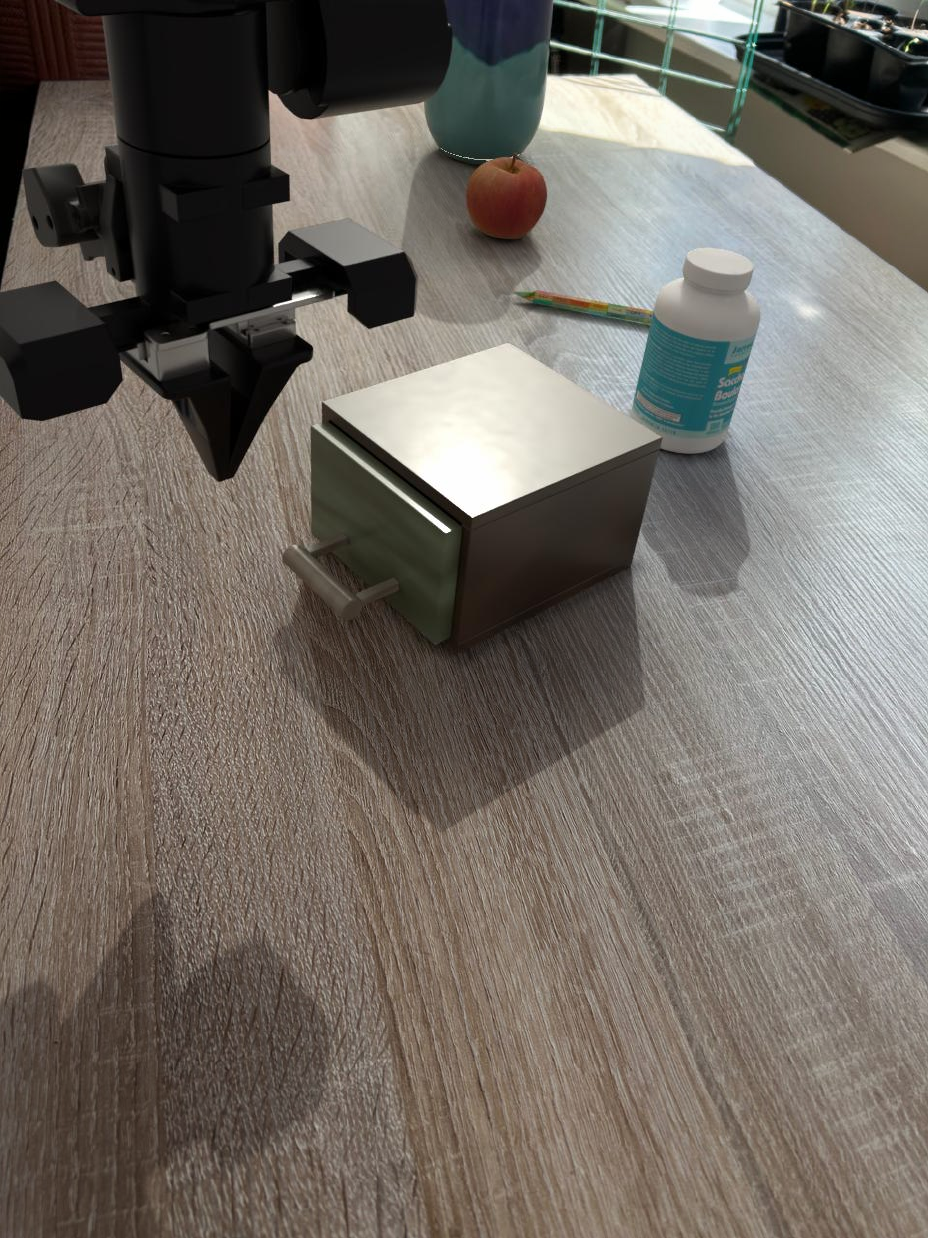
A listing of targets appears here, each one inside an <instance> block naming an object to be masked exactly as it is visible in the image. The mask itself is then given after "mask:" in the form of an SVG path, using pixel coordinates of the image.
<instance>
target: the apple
mask: <svg viewBox="0 0 928 1238" xmlns="http://www.w3.org/2000/svg"><path fill="white" fill-rule="evenodd" d="M517 155H518V154H517V153H516V152H515V153H514V156H513V158H510V157H501V158H496V159H493V160H490V161H488V162H486V163H484V164H482V165H478V167H477V168H476V169H475V170H474V171H473V173H472V174H471V175H470V177H469V180H468V182H467V186H466V191H465V202H466V209H467V212H468V215H469V218H470V220H471V221H472V223H473V225H474V226H475V227H476V228H477V230H479V231H480V232H481V233H483V234H484V235H487V236H490V237H493V238H497V239H504V240H517V239H520V238H523V237H524V236H525V235H527V234H529V232H531V231H532V230H533V229H534V228H535V226H536V225H537V224H538V223H539V221H540V219H541V218H542V216H543V214H544V212H545V209H546V207H547V206H546V205H547V200H548V188H547V183H546V181H545V177H544V176H543V174H542V173H541V172H540V171H539V170H538V169H537V168H536V167H534V166H533V165H531V164H529V163H527V162H525V161H522V160H520V159H517V158H518V157H517ZM516 157H517V158H516Z"/></svg>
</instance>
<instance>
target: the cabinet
mask: <svg viewBox="0 0 928 1238" xmlns="http://www.w3.org/2000/svg"><path fill="white" fill-rule="evenodd" d="M324 421H328V422H330V423H331V424H332V425H333V426H335V427H336V428H337V429H339V430H340V431H341V432H342V433H344V434H345V435H346V436H347V437H349V438H350V439H351V440H353V438H354V439H355V440H356V441H358V442H359V443H360V444H361V445H363V446H364V447H365V448H366V449H368V450H369V451H370V452H372V453H373V454H374V455H375V456H377V457H378V458H379V459H381V460H382V461H383V462H384V463H386V464H387V465H388V466H389V467H391V468H392V469H393V470H395V471H396V472H397V473H398V474H400V475H401V476H402V477H404V478H405V479H406V480H407V481H409V482H410V483H411V484H412V485H414V486H415V487H416V488H418V489H419V490H420V491H421V492H423V493H424V494H425V495H427V496H428V497H429V498H430V499H432V500H433V501H434V502H435V503H437V504H438V505H439V506H441V507H442V508H443V509H444V510H446V511H447V512H448V513H450V514H451V515H452V516H453V517H455V518H456V519H457V520H458V521H460V522H461V523H462V525H461V526H462V536H461V545H460V555H459V564H458V574H457V583H456V592H455V602H454V611H453V621H452V630H451V637H450V638H448V639H446V640H444V641H442V642H441V643H443V644H444V645H446V646H447V648H449V650H451V651H452V652H453V653H454V654H456V655H459V654H460V653H462V652H465V651H467V650H468V649H470V648H473V647H475V646H476V645H478V644H480V643H482V642H484V641H487V640H488V639H490V638H493V637H494V636H496V635H499V634H500V633H502V632H505V631H506V630H509V629H510V628H512V627H514V626H516V625H518V624H520V623H522V622H524V621H525V620H528V619H529V618H532V617H534V616H536V615H537V614H540V613H542V612H544V611H545V610H547V609H550V608H552V607H554V606H556V605H558V604H560V603H561V602H563V601H565V600H567V599H569V598H571V597H574V596H575V595H577V594H580V593H581V592H583V591H586V590H587V589H589V588H590V587H593V586H595V585H596V584H599V583H601V582H602V581H605V580H607V579H609V578H611V577H613V576H614V575H617V574H619V573H620V572H623V571H625V570H627V569H628V568H630V567H632V565H633V561H634V556H635V553H636V548H637V544H638V541H639V537H640V534H641V533H640V532H641V529H642V525H643V520H644V517H645V512H646V508H647V503H648V499H649V495H650V490H651V487H652V483H653V480H654V479H653V478H654V475H655V471H656V467H657V462H658V458H659V453H660V450H661V448H660V447H661V443H662V439H663V437H661V436H660V435H658V434H657V433H655V432H653V431H652V430H650V429H648V428H647V427H645V426H644V425H642V424H640V423H639V422H637V421H635V420H634V419H632V418H631V416H629V415H627V414H626V413H624V412H622V411H621V410H620V409H618V408H616V407H614V406H613V405H611V404H609V403H608V402H606V401H605V400H603V399H601V398H600V397H598V396H596V395H595V394H593V393H592V392H590V391H588V390H586V389H585V388H584V387H582V386H580V385H579V384H577V383H575V382H574V381H572V380H570V379H569V378H567V377H566V376H564V375H562V374H560V373H559V372H557V371H556V370H554V369H552V368H551V367H549V366H548V365H546V364H544V363H543V362H541V361H540V360H538V359H536V358H535V357H533V356H531V355H530V354H528V353H527V352H525V351H524V350H522V349H520V348H519V347H517V346H515V345H513V344H512V343H510V342H506V343H503V344H499V345H497V346H496V345H495V346H493V347H490V348H487V349H484V350H480V351H477V352H473V353H470V354H468V355H464V356H461V357H458V358H455V359H452V360H449V361H445V362H442V363H440V364H437V365H434V366H429V367H427V368H424V369H421V370H417V371H414V372H410V373H408V374H405V375H401V376H399V377H395V378H393V379H389V380H386V381H383V382H380V383H376V384H374V385H370V386H366V387H364V388H360V389H358V390H357V389H356V390H355V391H354V390H353V391H351V392H348V393H345V394H341V395H338V396H335V397H332V398H329V399H326V400H323V401H322V400H321V422H324Z"/></svg>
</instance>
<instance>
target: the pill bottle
mask: <svg viewBox="0 0 928 1238" xmlns="http://www.w3.org/2000/svg"><path fill="white" fill-rule="evenodd" d="M686 253H687V254H686V255H685V258H684V261H683V266H682V269H681V272H682V277H679V278H676V279H673V280H671V281H670V282H668V283H666V284H665V285H664V286H663V287H662V288H661V289H660V291H659V292H658V294H657V295H656V299H655V302H654V307H653V310H652V311H653V315H652V319H651V324H649V328H648V333H647V337H646V343H645V347H644V352H643V355H642V356H643V357H642V361H641V365H640V370H639V374H638V377H637V378H638V379H637V382H636V387H635V392H634V396H633V401H632V404H631V411H630V417H631V418H632V419H634V420H635V421H637V422H639V423H640V424H642V425H644V426H645V427H647V428H648V429H650V430H652V431H653V432H655V433H657V434H658V435H660V436H661V437H663V439H662V443H661V447H660V450H661V449H662V450H665V451H668V452H672V453H673V452H674V453H678V454H685V455H686V454H688V455H689V454H690V455H691V454H693V455H694V454H703V453H707V452H709V451H712V450H714V449H716V448H718V447H719V446H720V445H721V444H722V443H724V441H725V439H726V437H727V434H728V432H729V428H730V424H731V423H732V418H733V414H734V413H735V408H736V404H737V401H738V397H739V395H740V390H741V388H742V385H743V380H744V378H745V374H746V370H747V366H748V363H749V359H750V356H751V353H752V349H753V346H754V344H755V340H756V337H757V333H758V329H759V327H760V321H761V309H760V306H759V305H760V304H759V303H758V301H757V300H756V298H755V297H754V296H753V295H752V294H751V293H750V292H749V291H748V290H747V289H748V288H749V286H750V285H751V283H752V282H751V281H752V277H753V274H754V271H755V266H754V263H753V262H752V261H751V260H750V259H749V258H747V257H746V256H744V255H742V254H740V253H737V252H734V251H731V250H727V249H723V248H715V247H697V248H694V249H691V250H689V251H688V252H686Z"/></svg>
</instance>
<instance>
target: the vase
mask: <svg viewBox="0 0 928 1238" xmlns="http://www.w3.org/2000/svg"><path fill="white" fill-rule="evenodd" d="M444 1H445V5H446V9H447V18H448V24H450V25H451V27H452V31H453V41H452V52H451V58H450V64H449V68H448V71H447V74H446V77H445V79H444V81H443V83H442V85H441V86H440V88H439V90H438V91H437V93H436V94H434V95H433V96H432V97H431V98H430V99H429V100H427V101H424V102H423V108H424V109H423V110H424V117H425V121H426V125H427V128H428V130H429V133H430V135H431V137H432V139H433V140H434V142H435V144H436V146H437V147H438V149H439V150H440V151H441V152H442V153H443V154H445V155H446V156H448V157H449V158H451V159H453V160H455V161H458V162H462V163H466V164H472V165H478V166H481V165H482V164H484V163H486V162H488V161H486V160H474V159H496V158H501V157H512V156H514V153H515V152H516V153H517V154H520V153H522V154H523V152H524V151H525V150H526V149H527V148H528V146H529V145H530V144H531V143H532V141H533V139H534V138H535V136H536V134H537V132H538V130H539V127H540V123H541V119H542V116H543V111H544V106H545V99H546V93H547V92H546V91H547V81H548V71H549V61H550V60H549V59H550V46H551V34H552V22H553V11H554V10H553V9H554V8H553V7H554V0H444ZM440 148H442V149H443V150H442V149H440ZM444 150H445V151H447V152H445V151H444ZM448 152H449V153H448ZM450 153H452V154H450ZM453 154H455V155H453ZM456 155H459V156H462V157H459V156H456ZM520 155H521V154H520ZM463 157H469V158H474V159H468V158H463ZM517 158H519V156H517V157H516V159H517Z"/></svg>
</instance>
